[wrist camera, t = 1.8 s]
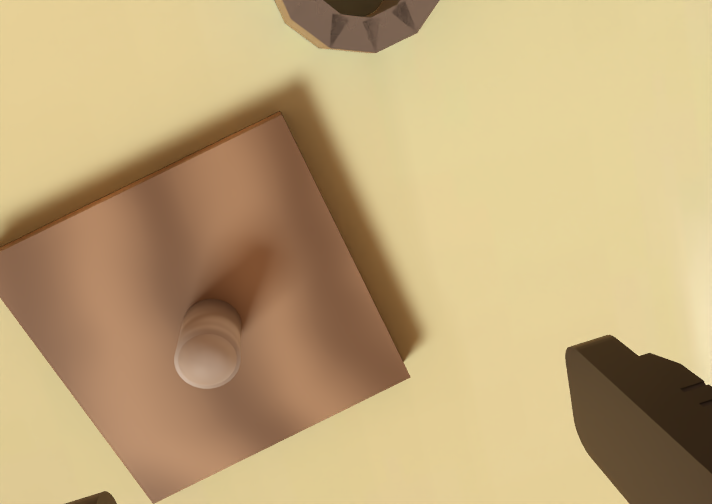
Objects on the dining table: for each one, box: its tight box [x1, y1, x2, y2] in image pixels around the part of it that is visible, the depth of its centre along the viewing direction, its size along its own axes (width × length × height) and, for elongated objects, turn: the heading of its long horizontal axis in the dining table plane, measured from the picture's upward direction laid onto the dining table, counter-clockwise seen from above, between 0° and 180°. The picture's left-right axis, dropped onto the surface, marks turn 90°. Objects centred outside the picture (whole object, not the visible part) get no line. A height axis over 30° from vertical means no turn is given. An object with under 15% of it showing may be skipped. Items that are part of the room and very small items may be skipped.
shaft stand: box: [0, 111, 410, 504], centre depth 27 cm, size 14×14×6 cm
